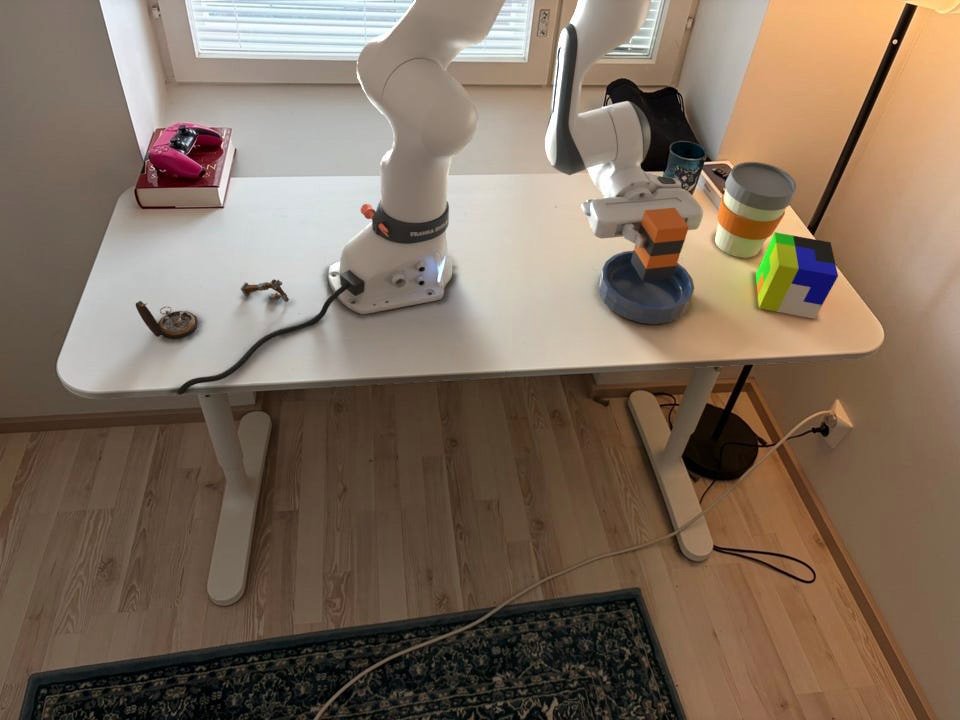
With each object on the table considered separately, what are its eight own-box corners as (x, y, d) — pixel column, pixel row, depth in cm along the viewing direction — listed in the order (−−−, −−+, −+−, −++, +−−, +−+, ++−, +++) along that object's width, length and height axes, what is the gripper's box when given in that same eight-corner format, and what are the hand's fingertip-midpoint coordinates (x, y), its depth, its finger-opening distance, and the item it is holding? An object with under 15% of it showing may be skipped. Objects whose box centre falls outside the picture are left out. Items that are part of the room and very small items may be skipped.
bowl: (638, 337, 124) (643, 320, 121) (580, 282, 133) (583, 265, 130) (706, 308, 131) (713, 291, 128) (646, 258, 140) (651, 241, 137)
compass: (206, 329, 118) (196, 295, 112) (159, 350, 114) (147, 316, 108) (182, 303, 121) (172, 269, 116) (136, 323, 117) (124, 289, 112)
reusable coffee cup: (695, 244, 144) (718, 179, 133) (721, 218, 151) (745, 154, 141) (754, 271, 139) (783, 206, 128) (778, 243, 147) (807, 178, 136)
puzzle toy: (814, 318, 131) (838, 276, 124) (758, 308, 132) (779, 265, 124) (808, 284, 138) (830, 242, 130) (755, 274, 139) (774, 232, 131)
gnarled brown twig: (290, 303, 122) (276, 282, 119) (253, 308, 125) (239, 287, 123) (294, 296, 123) (281, 275, 121) (258, 301, 127) (244, 281, 124)
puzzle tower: (642, 281, 125) (657, 229, 117) (630, 261, 129) (644, 210, 121) (672, 278, 126) (689, 226, 118) (659, 258, 130) (674, 207, 122)
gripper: (581, 186, 127) (609, 232, 118) (686, 177, 131) (721, 222, 122) (575, 216, 131) (601, 263, 122) (677, 207, 136) (710, 252, 127)
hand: (662, 242), depth 122 cm, fingers closed on puzzle tower, 5 cm apart
